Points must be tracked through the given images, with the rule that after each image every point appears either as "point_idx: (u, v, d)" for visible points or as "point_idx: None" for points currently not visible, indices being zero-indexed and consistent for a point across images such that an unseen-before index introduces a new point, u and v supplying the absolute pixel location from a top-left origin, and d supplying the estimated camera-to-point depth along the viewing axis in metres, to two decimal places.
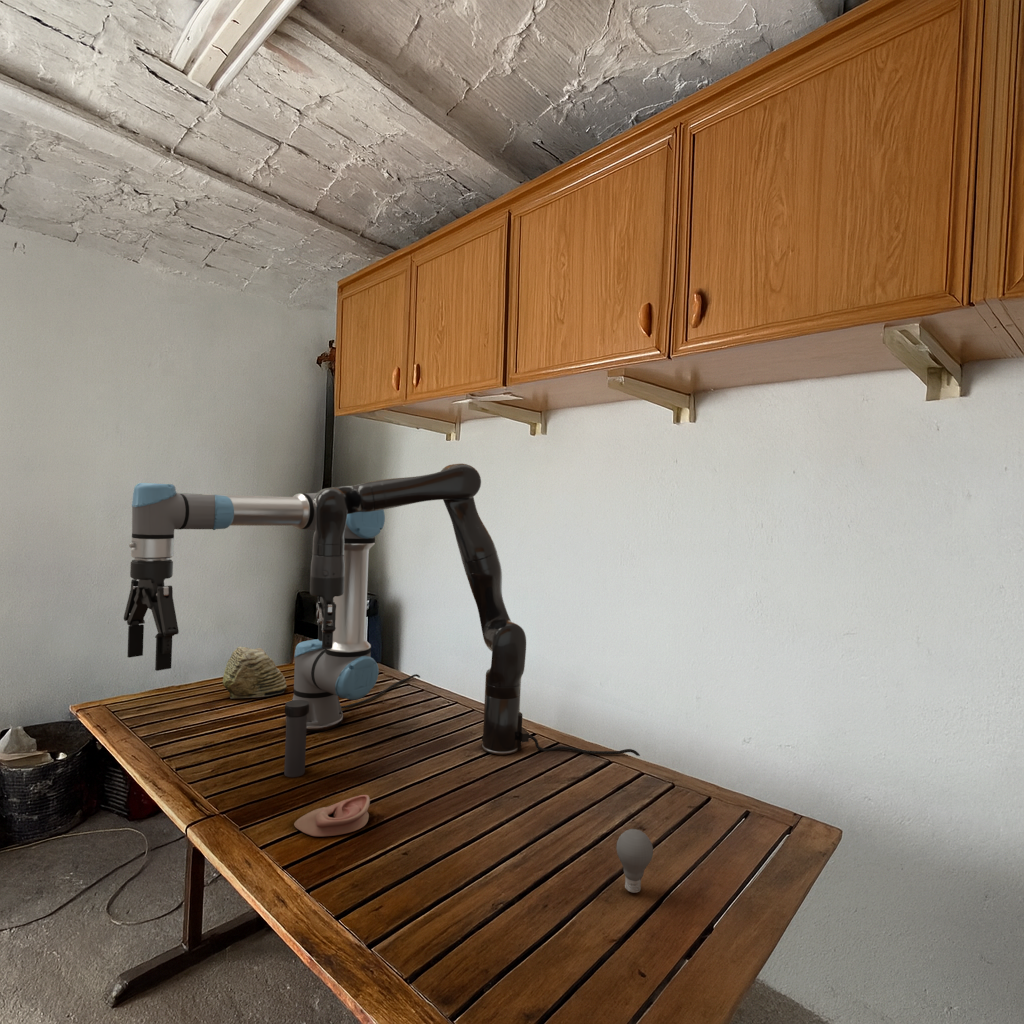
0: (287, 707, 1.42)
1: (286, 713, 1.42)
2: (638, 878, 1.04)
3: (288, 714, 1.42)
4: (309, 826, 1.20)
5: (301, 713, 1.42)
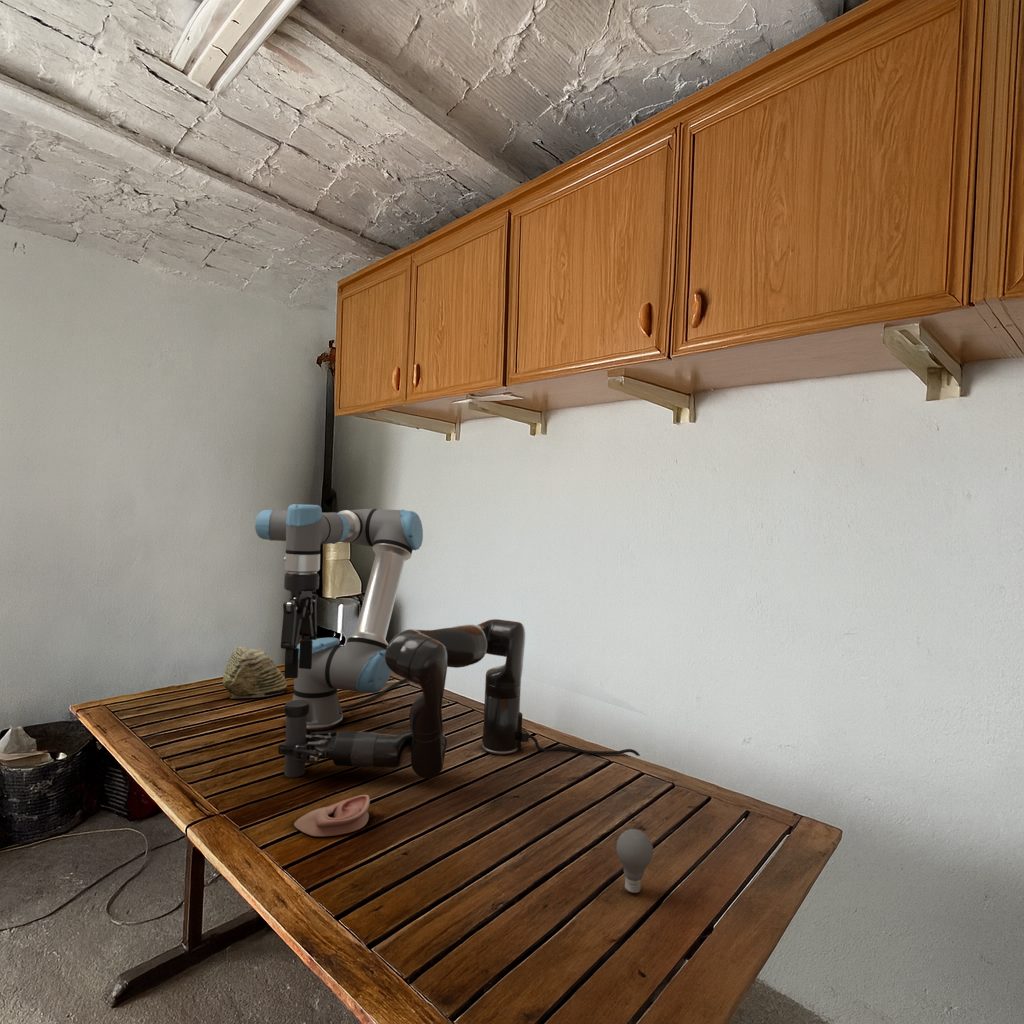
0: (287, 707, 1.42)
1: (286, 713, 1.42)
2: (638, 878, 1.04)
3: (288, 714, 1.42)
4: (309, 826, 1.20)
5: (301, 713, 1.42)
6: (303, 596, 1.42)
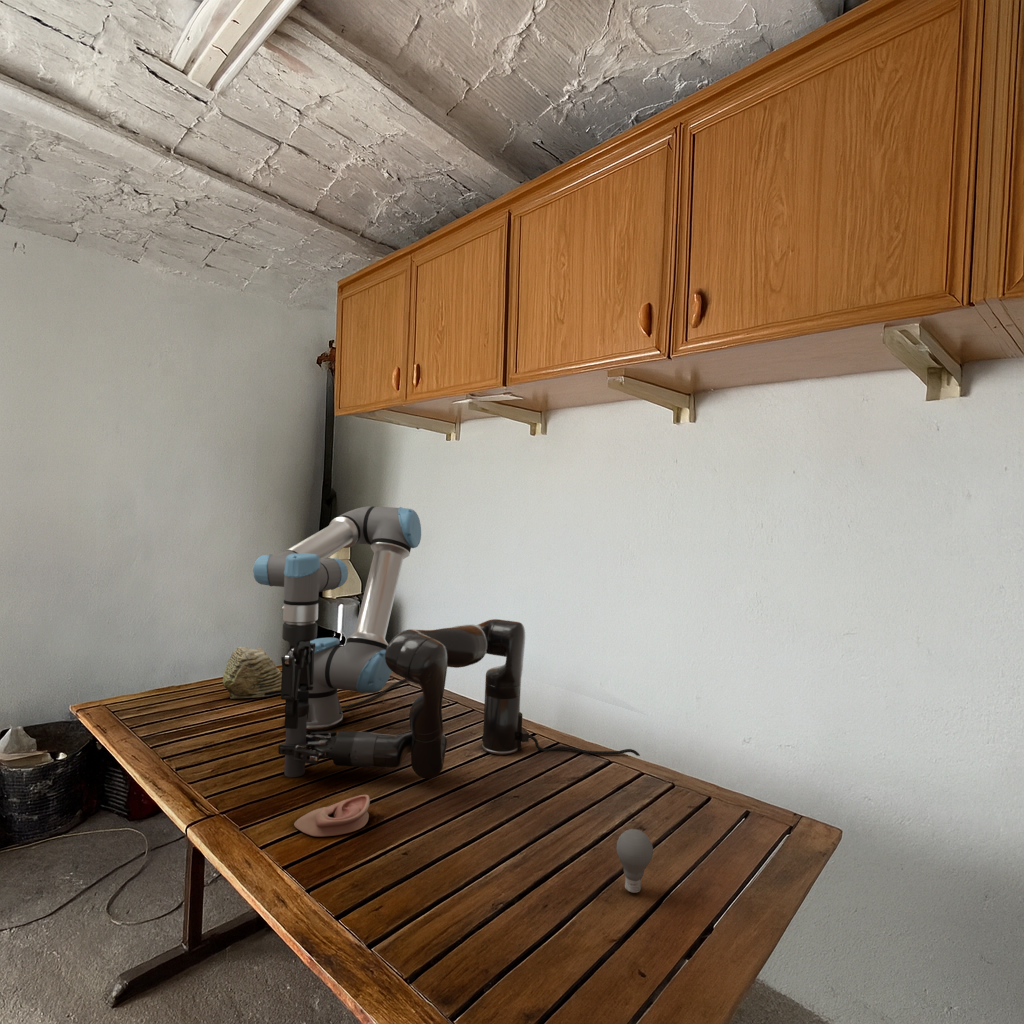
0: None
1: None
2: (638, 878, 1.04)
3: None
4: (309, 826, 1.20)
5: (301, 713, 1.42)
6: (301, 646, 1.43)
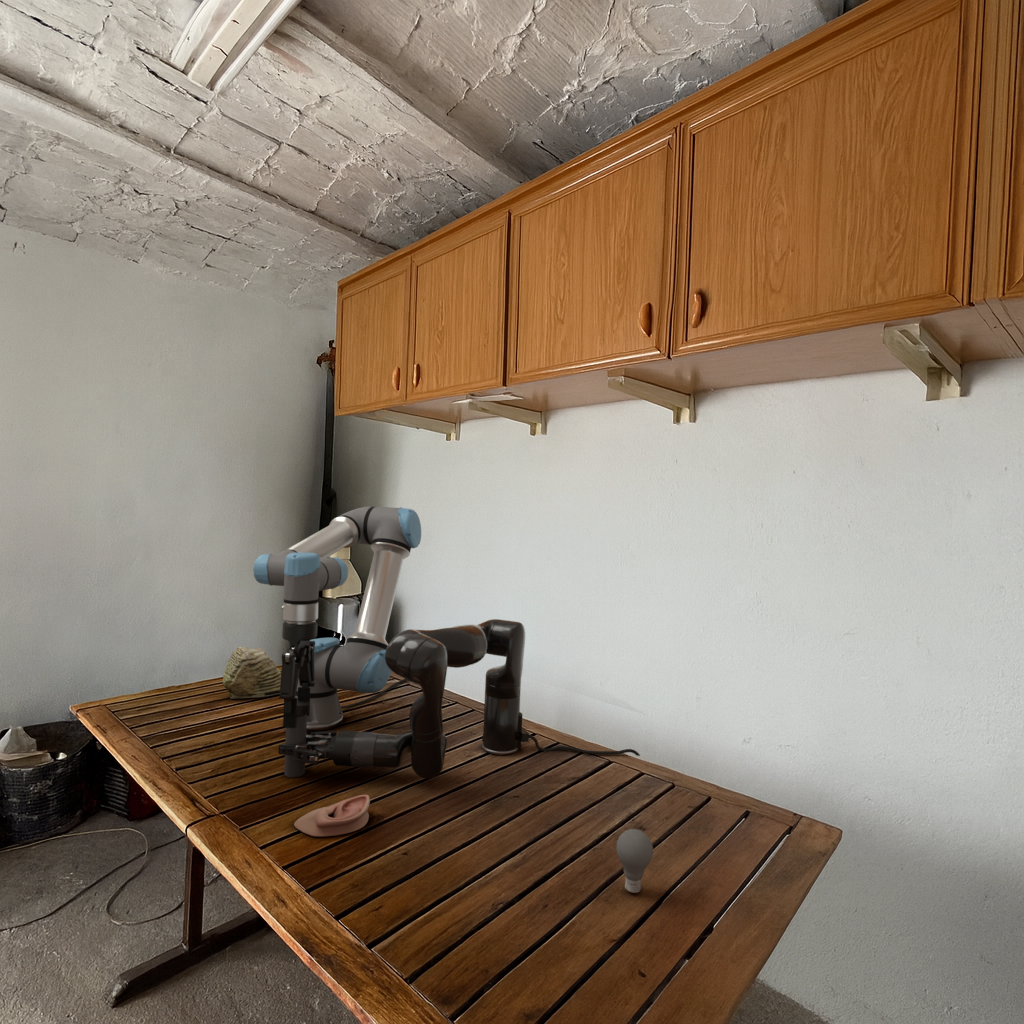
0: (299, 707, 1.42)
1: (297, 713, 1.42)
2: (638, 878, 1.04)
3: (301, 713, 1.42)
4: (309, 826, 1.20)
5: (308, 709, 1.45)
6: (302, 645, 1.43)
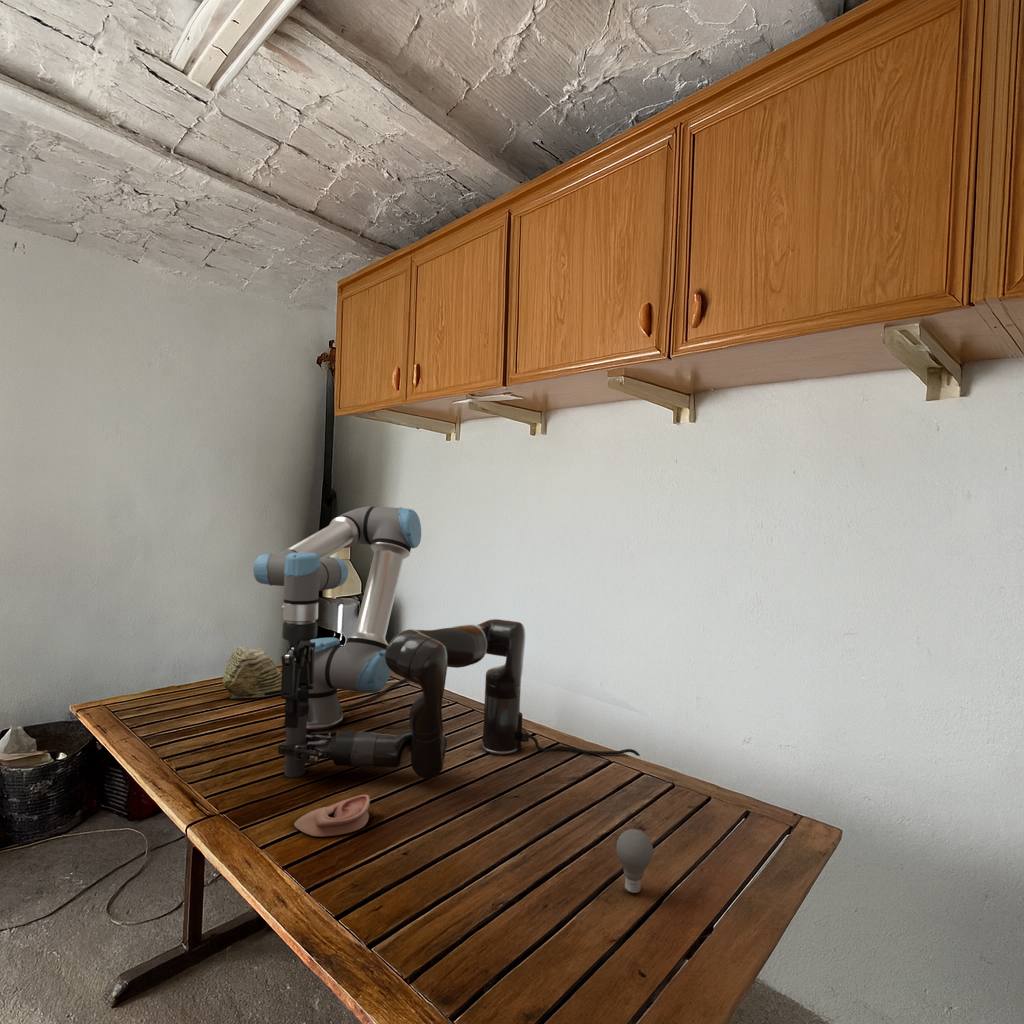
0: (299, 707, 1.42)
1: None
2: (638, 878, 1.04)
3: (301, 713, 1.42)
4: (309, 826, 1.20)
5: (308, 709, 1.45)
6: (301, 645, 1.43)
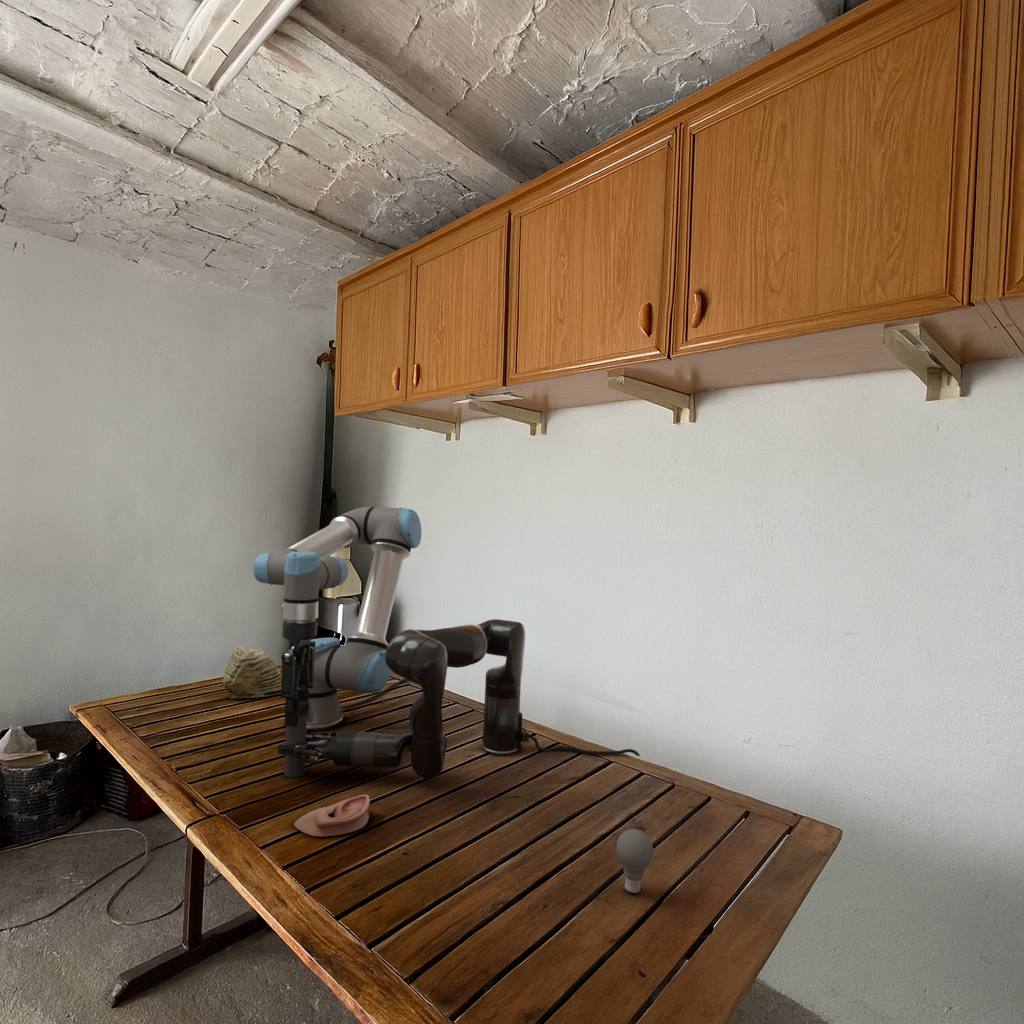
0: (308, 703, 1.44)
1: (307, 709, 1.44)
2: (638, 878, 1.04)
3: (308, 708, 1.45)
4: (309, 826, 1.20)
5: None
6: (301, 644, 1.43)
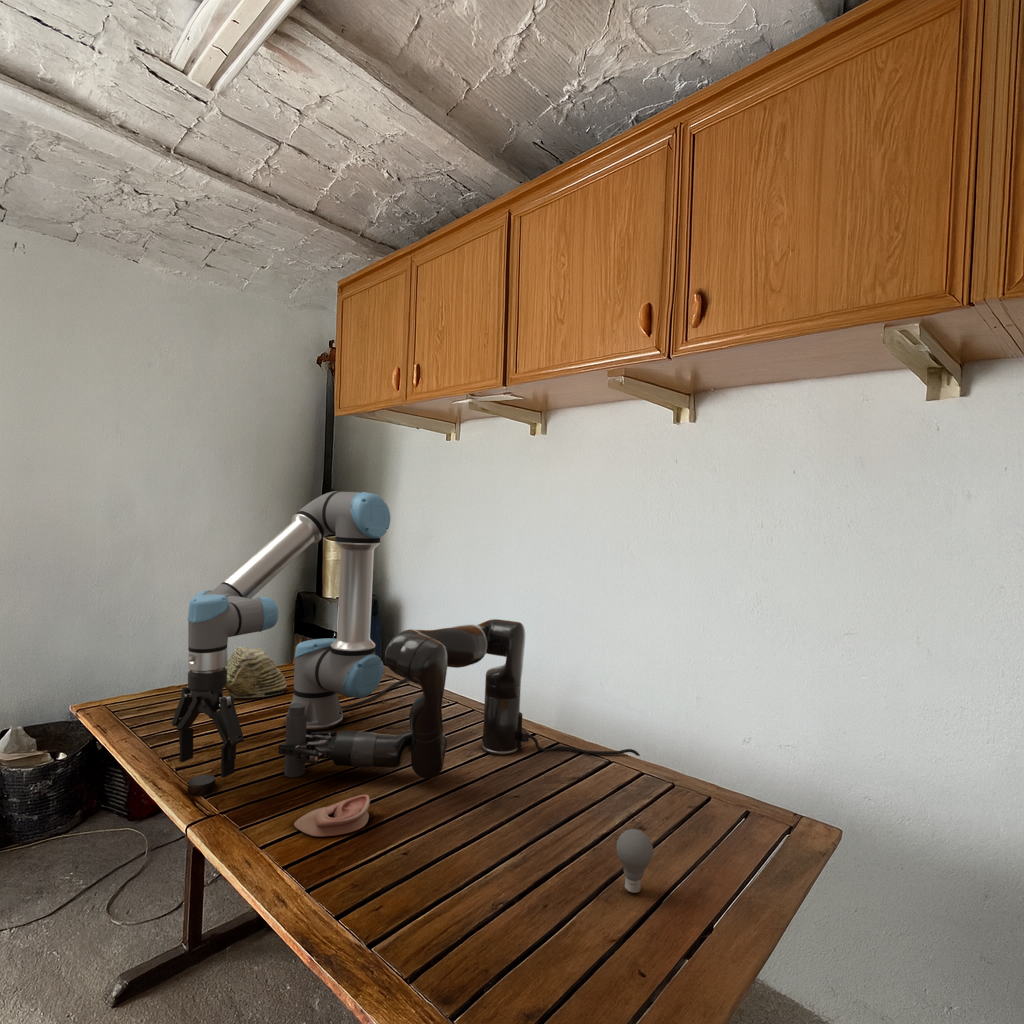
0: None
1: None
2: (638, 878, 1.04)
3: None
4: (309, 826, 1.20)
5: None
6: None
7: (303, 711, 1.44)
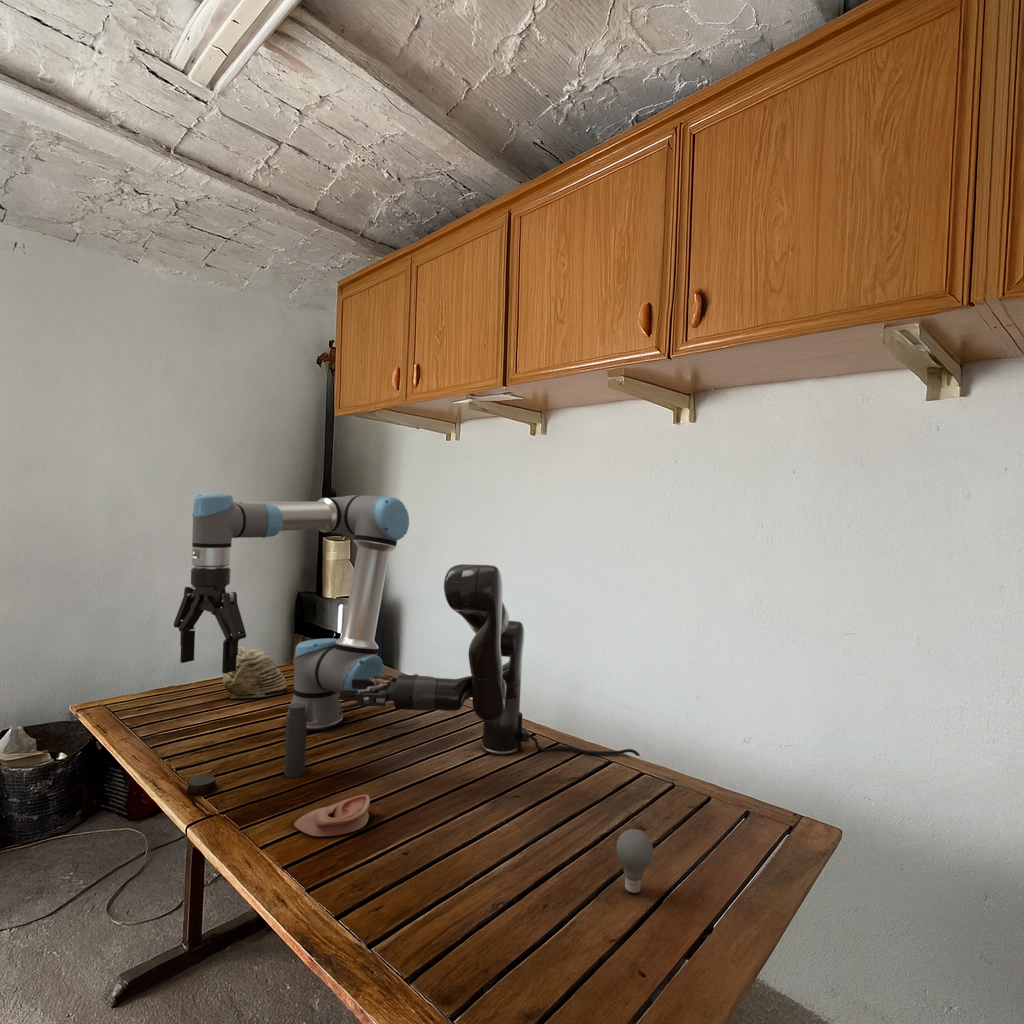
0: None
1: None
2: (638, 878, 1.04)
3: None
4: (309, 826, 1.20)
5: None
6: None
7: (303, 711, 1.44)
